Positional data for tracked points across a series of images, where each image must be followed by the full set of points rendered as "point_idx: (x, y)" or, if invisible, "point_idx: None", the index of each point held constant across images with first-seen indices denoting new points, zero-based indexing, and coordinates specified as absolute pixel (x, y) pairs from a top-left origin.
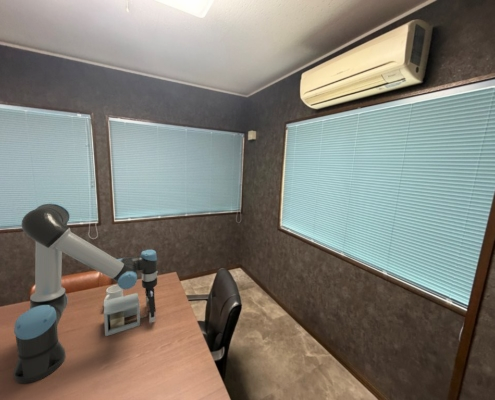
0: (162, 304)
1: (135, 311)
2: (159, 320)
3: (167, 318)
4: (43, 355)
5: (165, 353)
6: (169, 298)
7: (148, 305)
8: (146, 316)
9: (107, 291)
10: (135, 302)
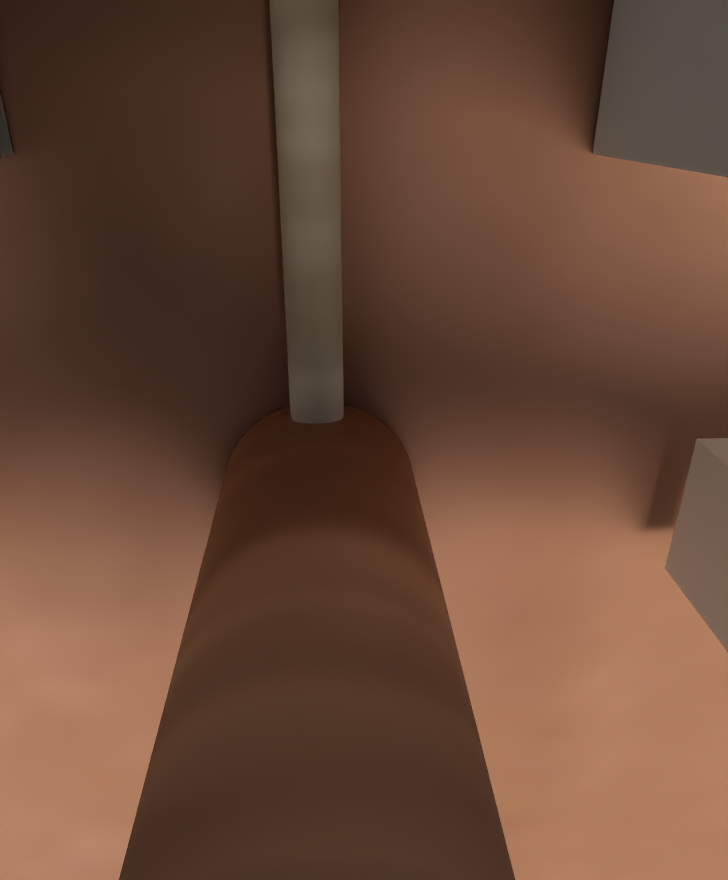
0: (607, 750)
1: (672, 43)
2: (11, 646)
3: (32, 780)
4: None
5: None
6: (722, 866)
7: (151, 827)
8: (289, 391)
9: None
10: None
